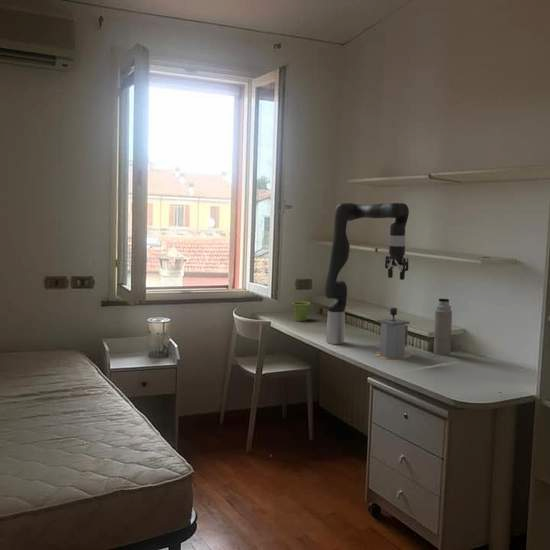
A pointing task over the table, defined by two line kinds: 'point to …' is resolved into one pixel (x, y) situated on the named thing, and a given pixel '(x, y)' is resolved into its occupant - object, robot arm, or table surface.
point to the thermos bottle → (443, 328)
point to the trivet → (406, 356)
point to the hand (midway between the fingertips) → (396, 278)
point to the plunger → (393, 312)
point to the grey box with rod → (393, 337)
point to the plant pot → (300, 310)
